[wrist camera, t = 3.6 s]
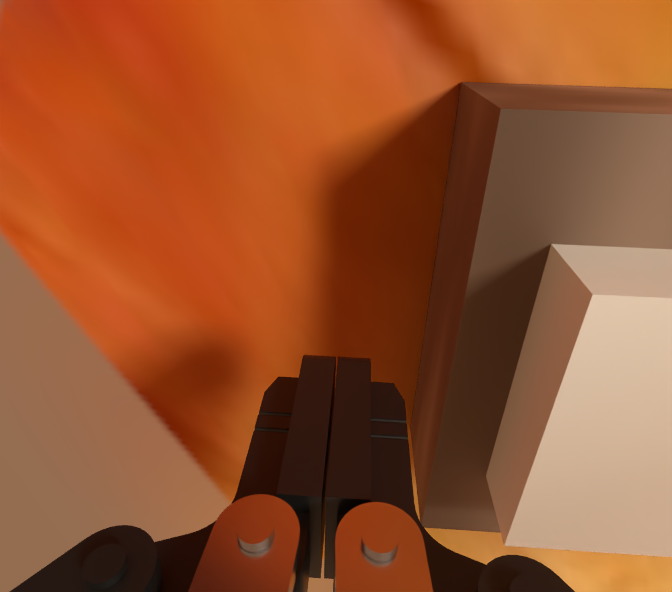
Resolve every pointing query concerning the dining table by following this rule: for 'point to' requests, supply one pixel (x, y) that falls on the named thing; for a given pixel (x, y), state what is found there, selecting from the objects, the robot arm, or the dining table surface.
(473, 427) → the block
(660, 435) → the tile
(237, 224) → the dining table surface
